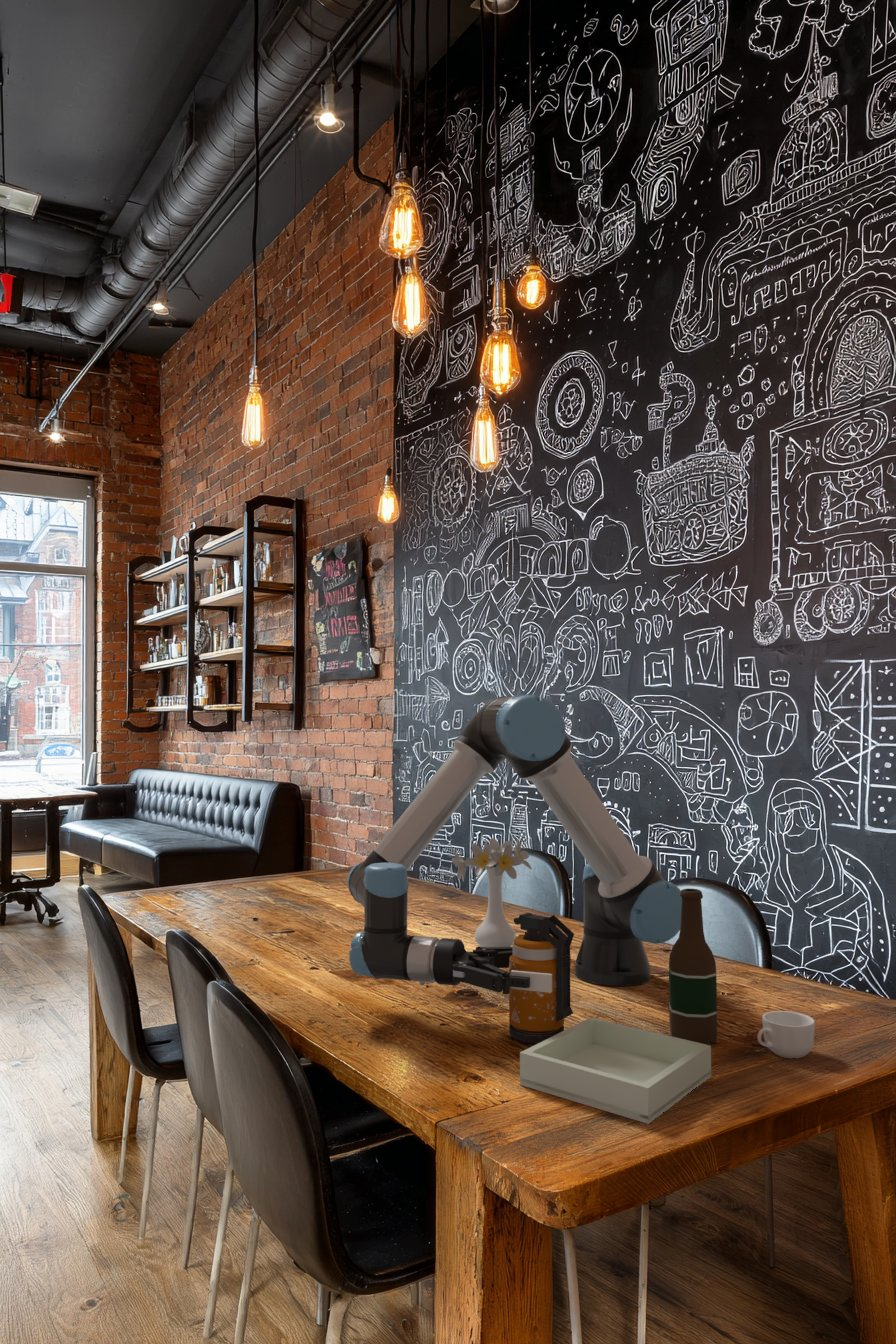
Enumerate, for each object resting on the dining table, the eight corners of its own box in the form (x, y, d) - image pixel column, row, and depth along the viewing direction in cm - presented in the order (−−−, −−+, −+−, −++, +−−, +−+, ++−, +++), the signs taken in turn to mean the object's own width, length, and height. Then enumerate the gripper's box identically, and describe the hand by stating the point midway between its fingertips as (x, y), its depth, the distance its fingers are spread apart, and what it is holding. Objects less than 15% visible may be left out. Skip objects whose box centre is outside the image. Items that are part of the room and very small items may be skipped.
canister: (529, 1024, 156) (529, 906, 157) (585, 1038, 149) (584, 914, 150) (498, 1038, 149) (498, 914, 150) (555, 1054, 142) (555, 924, 143)
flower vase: (443, 950, 206) (444, 838, 208) (514, 941, 214) (514, 834, 216) (470, 963, 195) (470, 845, 196) (543, 954, 203) (543, 840, 204)
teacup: (789, 1042, 148) (788, 1008, 148) (826, 1058, 141) (826, 1022, 141) (741, 1051, 144) (740, 1016, 144) (776, 1068, 137) (776, 1031, 137)
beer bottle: (684, 1048, 145) (682, 895, 146) (659, 1032, 152) (658, 886, 153) (727, 1043, 147) (725, 892, 148) (701, 1028, 154) (699, 884, 156)
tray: (591, 1046, 146) (590, 1017, 146) (711, 1077, 133) (710, 1045, 133) (519, 1084, 130) (519, 1052, 130) (648, 1123, 117) (648, 1088, 118)
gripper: (461, 964, 167) (575, 975, 160) (411, 1004, 144) (543, 1019, 137) (461, 923, 167) (575, 931, 161) (411, 956, 144) (543, 968, 137)
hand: (561, 972), depth 149 cm, fingers open, 13 cm apart
